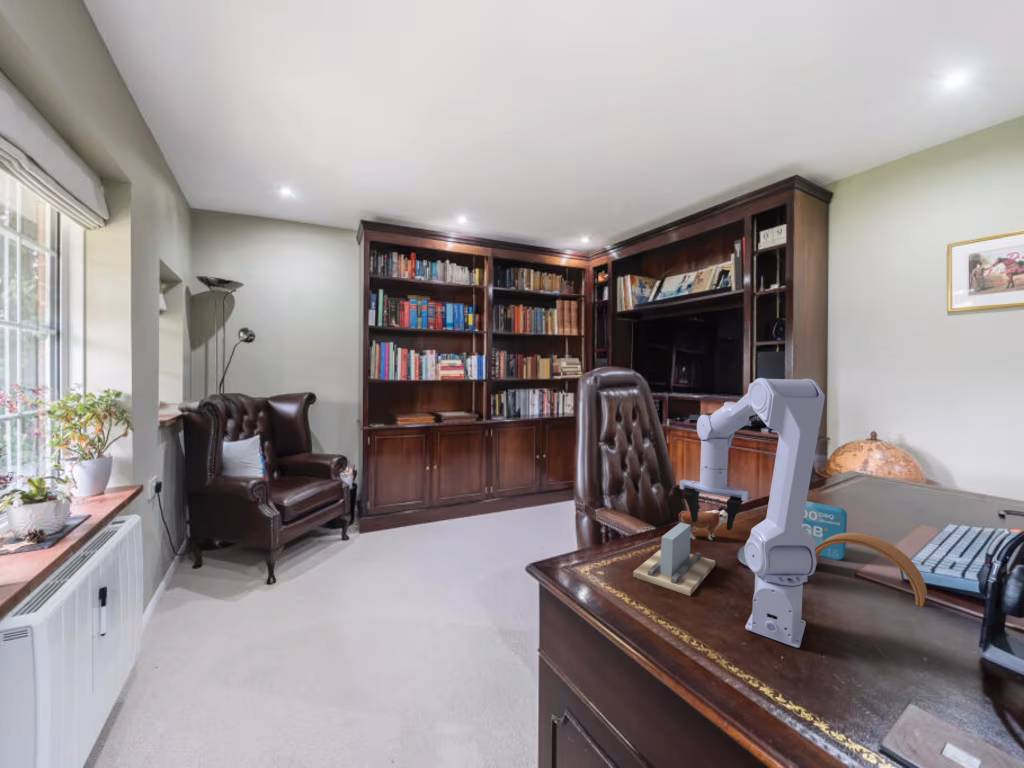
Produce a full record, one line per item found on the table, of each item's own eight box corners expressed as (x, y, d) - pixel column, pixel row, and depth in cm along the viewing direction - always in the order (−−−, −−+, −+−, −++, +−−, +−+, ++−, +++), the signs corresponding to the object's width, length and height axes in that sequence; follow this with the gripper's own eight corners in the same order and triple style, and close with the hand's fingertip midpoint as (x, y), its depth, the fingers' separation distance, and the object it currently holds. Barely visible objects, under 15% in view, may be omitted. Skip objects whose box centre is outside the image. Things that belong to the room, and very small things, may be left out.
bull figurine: (732, 543, 114) (733, 513, 114) (678, 538, 117) (679, 508, 116) (728, 537, 118) (729, 507, 118) (676, 532, 121) (677, 503, 121)
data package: (785, 547, 112) (787, 501, 112) (788, 542, 116) (790, 498, 115) (843, 562, 104) (845, 512, 104) (845, 556, 108) (847, 508, 107)
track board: (689, 595, 87) (690, 585, 87) (633, 576, 95) (633, 566, 94) (714, 565, 101) (715, 556, 101) (663, 551, 108) (663, 542, 108)
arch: (812, 562, 104) (814, 521, 103) (927, 598, 88) (930, 549, 88) (804, 569, 100) (806, 526, 100) (922, 607, 84) (924, 557, 84)
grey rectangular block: (671, 576, 92) (672, 539, 92) (660, 573, 94) (661, 536, 94) (689, 558, 102) (690, 524, 101) (679, 555, 103) (680, 522, 103)
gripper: (752, 469, 99) (750, 527, 99) (687, 459, 108) (685, 513, 109) (745, 474, 94) (743, 536, 94) (677, 464, 103) (675, 520, 103)
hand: (711, 524), depth 101 cm, fingers open, 7 cm apart
